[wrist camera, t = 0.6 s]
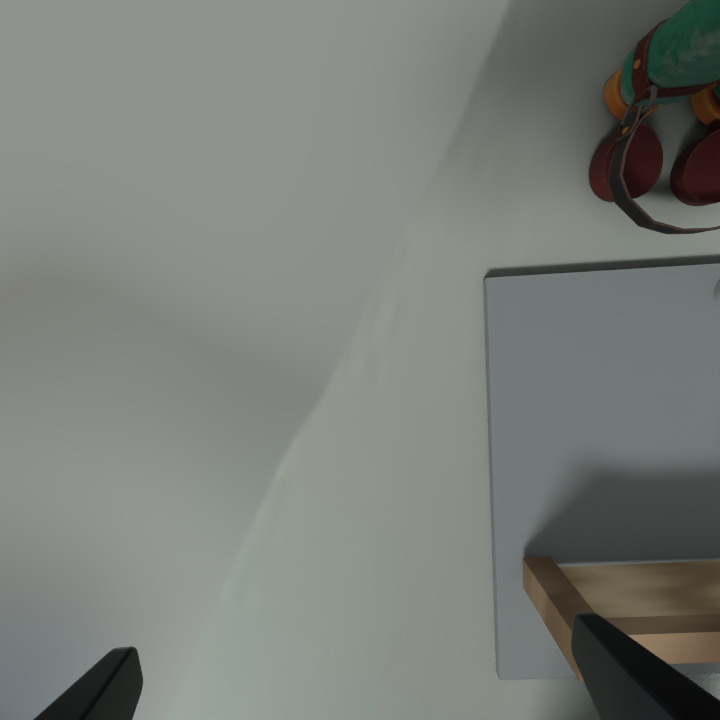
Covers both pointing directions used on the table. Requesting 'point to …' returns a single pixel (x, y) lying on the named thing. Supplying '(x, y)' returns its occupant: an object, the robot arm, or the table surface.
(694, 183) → the binoculars
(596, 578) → the wooden bar with ends
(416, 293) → the table surface
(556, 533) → the gate base
